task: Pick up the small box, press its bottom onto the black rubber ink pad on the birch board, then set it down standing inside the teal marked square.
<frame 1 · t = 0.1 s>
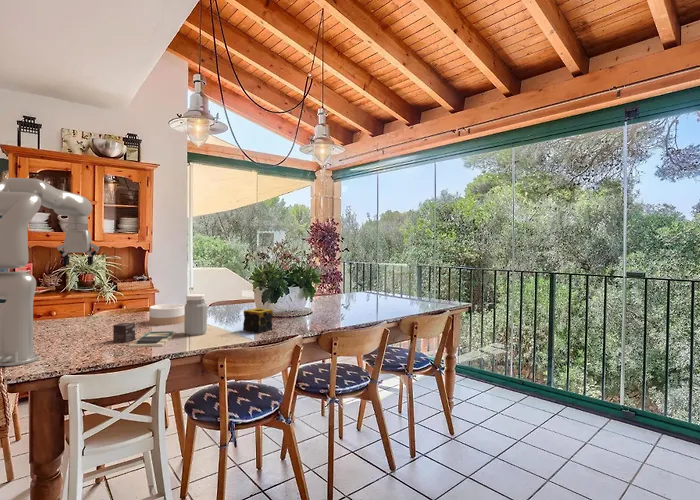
hand: (78, 265, 190), 31 cm above the table, fingers open, 9 cm apart
stamp board: (154, 340, 179), on the table
candle: (257, 330, 201), on the table
bowl: (167, 322, 218), on the table
jar: (195, 333, 193), on the table
box: (124, 341, 178), on the table
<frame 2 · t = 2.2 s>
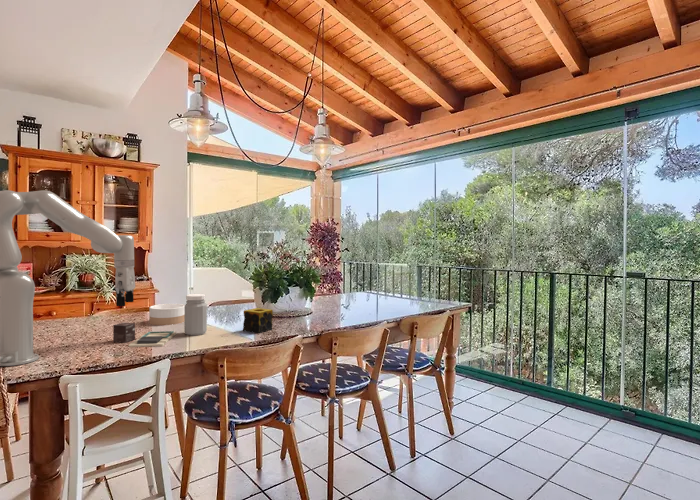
hand: (125, 304, 177), 16 cm above the table, fingers open, 9 cm apart
nothing on the table moved.
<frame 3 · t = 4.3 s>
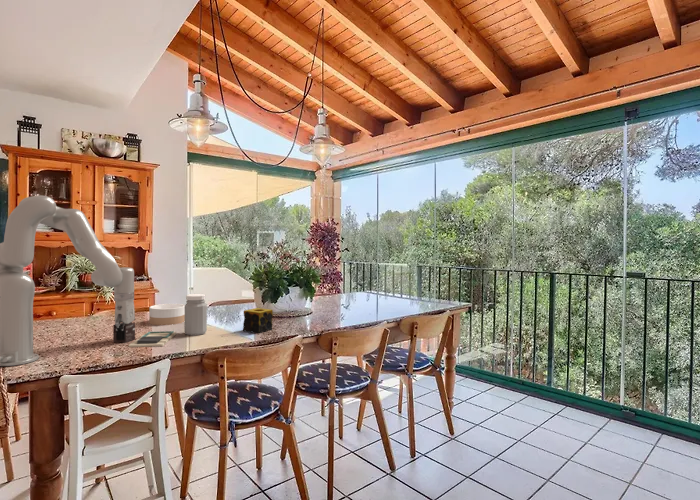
hand: (124, 337, 178), 1 cm above the table, fingers closed on box, 7 cm apart
box: (124, 341, 178), on the table, touching gripper
everything else where it was.
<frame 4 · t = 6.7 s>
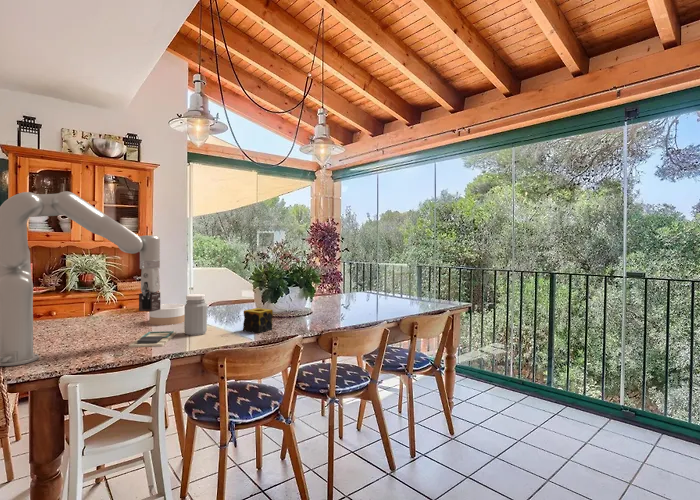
hand: (149, 306, 174), 15 cm above the table, fingers closed on box, 7 cm apart
box: (149, 310, 174), point 14 cm above the table, touching gripper
everything else where it was.
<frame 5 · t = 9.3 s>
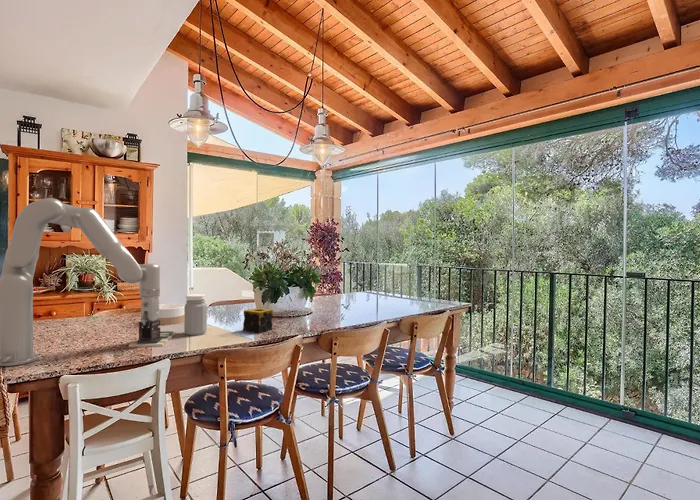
hand: (149, 335, 174), 3 cm above the table, fingers closed on box, 7 cm apart
box: (149, 339, 174), point 2 cm above the table, touching gripper, stamp board
everything else where it was.
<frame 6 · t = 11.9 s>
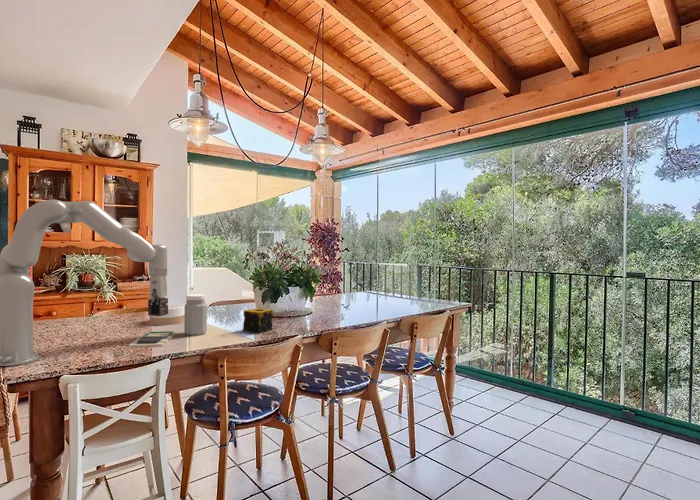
hand: (158, 311, 185), 11 cm above the table, fingers closed on box, 7 cm apart
box: (158, 315, 185), point 10 cm above the table, touching gripper
everything else where it was.
when the fingers open (3 cm above the table, at t = 14.2 s): box drops 1 cm, resting on stamp board.
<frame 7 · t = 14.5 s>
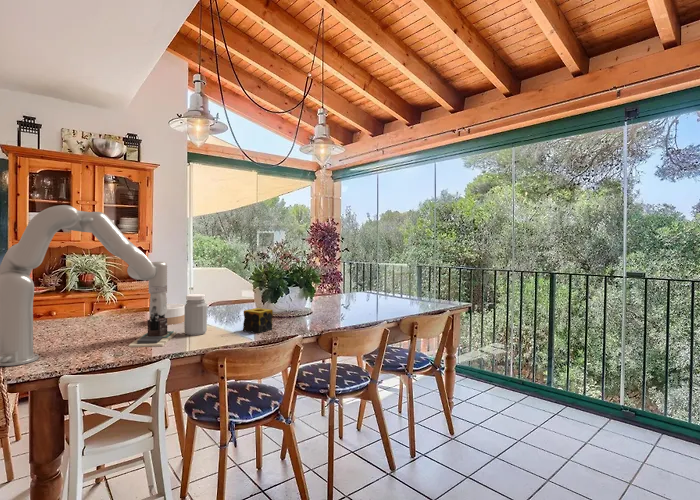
hand: (157, 327, 185), 4 cm above the table, fingers open, 9 cm apart
box: (157, 335, 185), point 1 cm above the table, touching stamp board
everything else where it was.
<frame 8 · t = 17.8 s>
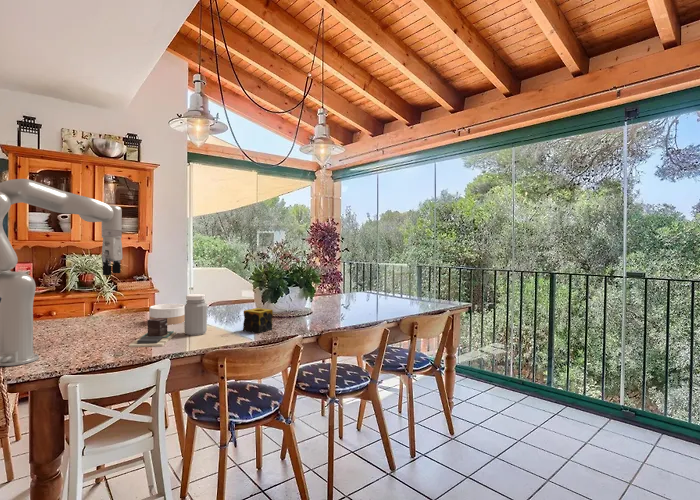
hand: (111, 274, 179), 28 cm above the table, fingers open, 9 cm apart
nothing on the table moved.
at the end: box inside the target area on the stamp board (0.2 cm from its centre), point 0.6 cm above the stamp board's base; box tilted 0°; the gripper is holding nothing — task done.
